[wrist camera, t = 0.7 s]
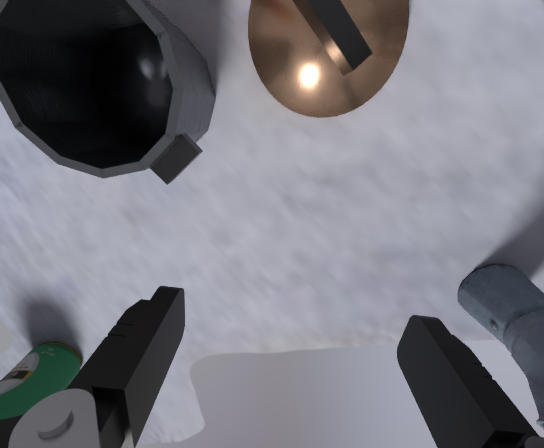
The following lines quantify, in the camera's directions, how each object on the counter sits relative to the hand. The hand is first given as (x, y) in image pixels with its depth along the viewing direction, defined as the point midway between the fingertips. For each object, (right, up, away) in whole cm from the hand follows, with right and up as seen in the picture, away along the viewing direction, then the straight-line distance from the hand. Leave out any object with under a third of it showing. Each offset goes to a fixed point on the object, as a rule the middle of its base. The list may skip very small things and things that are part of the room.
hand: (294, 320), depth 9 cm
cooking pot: (-14, +17, +19) cm, 29 cm away
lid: (+4, +22, +17) cm, 28 cm away
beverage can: (-36, -19, +35) cm, 53 cm away
